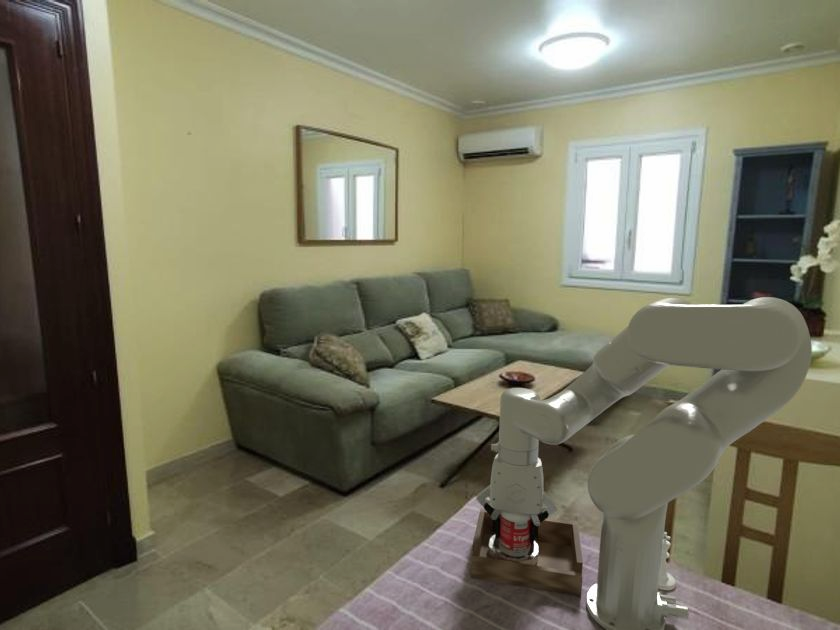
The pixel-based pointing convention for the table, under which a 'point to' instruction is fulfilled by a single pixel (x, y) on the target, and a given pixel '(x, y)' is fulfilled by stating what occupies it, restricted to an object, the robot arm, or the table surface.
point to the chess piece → (665, 578)
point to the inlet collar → (528, 560)
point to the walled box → (555, 555)
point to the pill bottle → (514, 533)
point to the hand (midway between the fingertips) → (514, 536)
